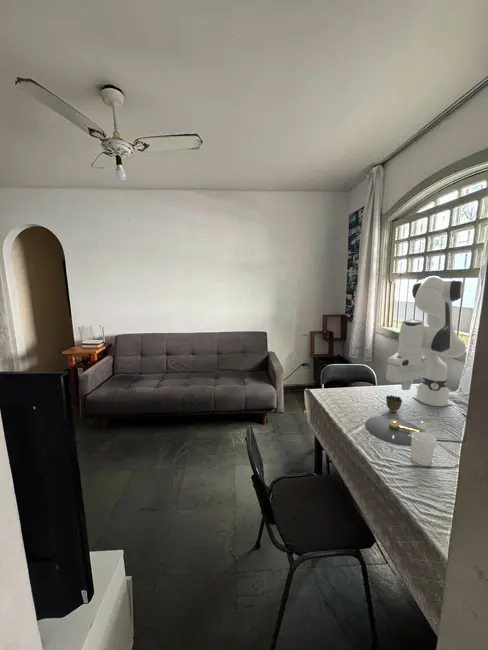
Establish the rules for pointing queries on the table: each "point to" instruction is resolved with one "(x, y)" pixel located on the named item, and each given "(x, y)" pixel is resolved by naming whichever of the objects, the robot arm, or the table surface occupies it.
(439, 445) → the table surface
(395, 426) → the needle
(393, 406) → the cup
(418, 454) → the white cup
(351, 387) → the table surface
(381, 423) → the dial
